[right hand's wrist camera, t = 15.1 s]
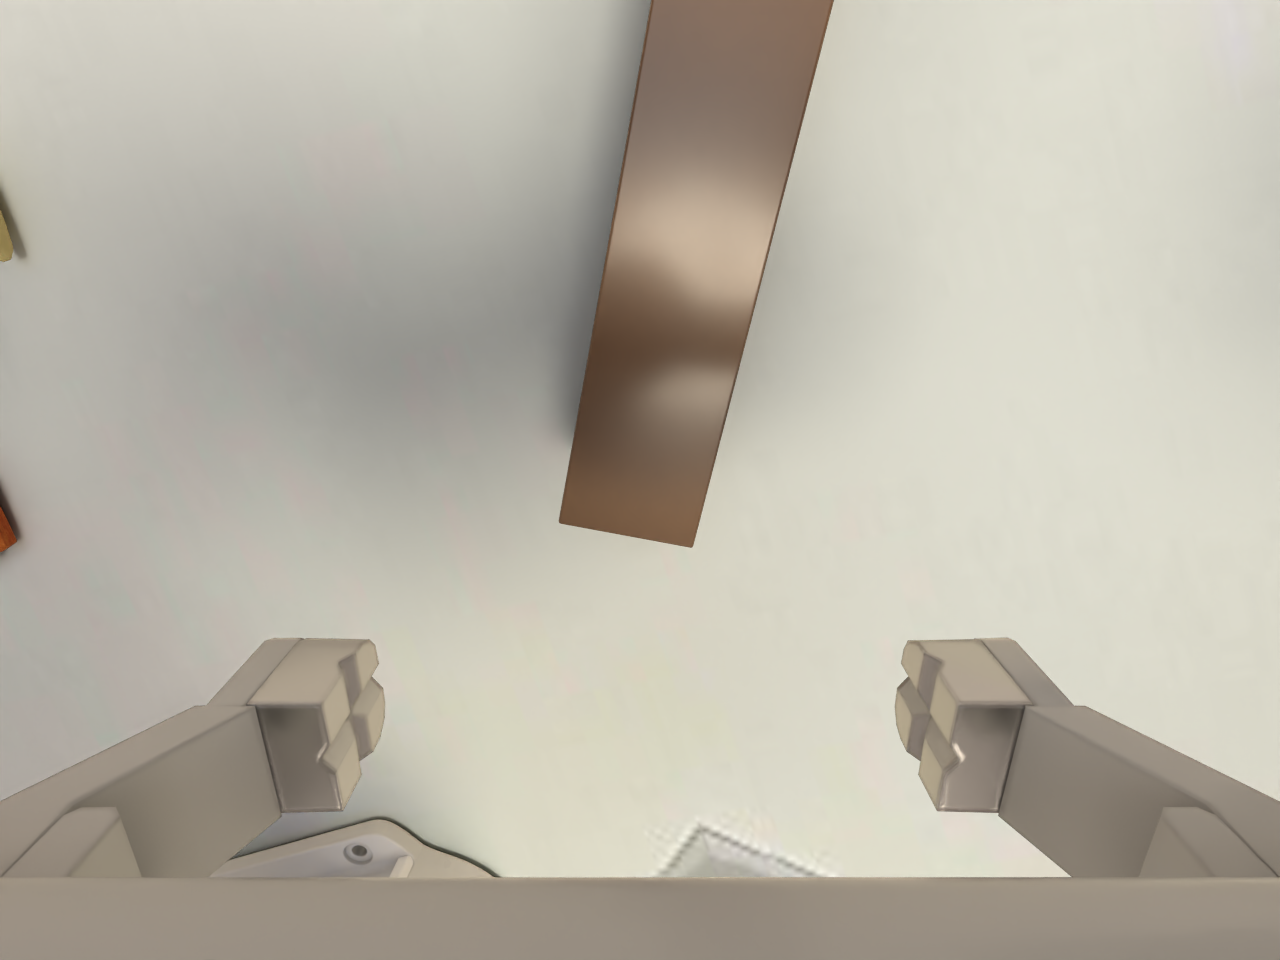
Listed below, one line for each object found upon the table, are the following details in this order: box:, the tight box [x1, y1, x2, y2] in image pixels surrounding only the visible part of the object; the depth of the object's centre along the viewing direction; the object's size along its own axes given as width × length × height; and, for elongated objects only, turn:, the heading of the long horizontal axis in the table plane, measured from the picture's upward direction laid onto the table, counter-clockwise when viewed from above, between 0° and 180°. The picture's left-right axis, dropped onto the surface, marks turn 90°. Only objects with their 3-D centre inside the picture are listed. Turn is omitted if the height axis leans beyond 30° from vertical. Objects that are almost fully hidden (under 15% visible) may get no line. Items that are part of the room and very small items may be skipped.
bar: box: [559, 0, 834, 548], centre depth 24 cm, size 27×5×8 cm, turn 168°
